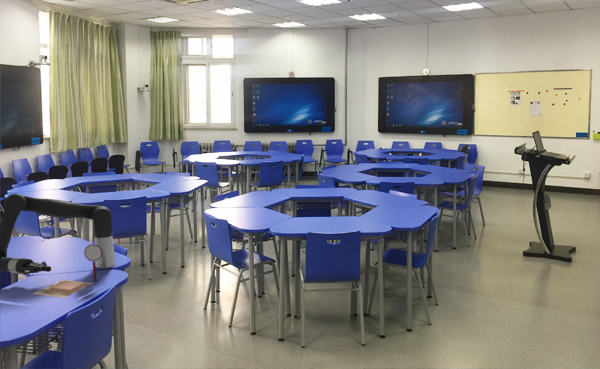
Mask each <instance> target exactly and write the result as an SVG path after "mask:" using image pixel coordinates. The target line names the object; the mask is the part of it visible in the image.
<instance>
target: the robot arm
mask: <svg viewBox="0 0 600 369" xmlns="http://www.w3.org/2000/svg"><path fill="white" fill-rule="evenodd" d="M21 212H32V213H38V214H41V215H43V216H49V217H52V218H59V219H60V218H61V219H89V220H93V230H94V231H93V234H94V244H95V245H98V246H99V247H100V248H101V249H102V257H101V258H100V259H99V260H97V261H95V265H96V269H110V268H113V267H114V266H115V264H116V255H115V254H116V253H115V247H114V239H113V216H112V212H111V209H109V207H107V206H104V205H94V204H93V205H91V204H90V205H89V204H82V203H78V202H72V201H68V200H61V199H53V198H39V197H37V198H36V197H32V196H27V195H23V194H21V193H17V192H15V193H10V194H9V195H8V196H7V197H5V199H4V209H3V214H2V218H1V221H0V271H2V272H7V273H13V274H18V275H19V274H21V275H29V274H36V273H37V274H39V273H41V272H46V273H47V272H49V273H50V272H51V271H52V267H51V266H49V265H48V264H47V262H46V261H44V260H43V261H41V262H36V261H33V260H32V258H23V257H9V256H8V248H9V246H10V242H11V239H12V235H13V233H14V228H15V225H16V222H17V220H18V218H19V215H20V214H21Z"/></svg>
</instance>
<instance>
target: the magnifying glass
mask: <svg viewBox="0 0 600 369" xmlns="http://www.w3.org/2000/svg"><path fill="white" fill-rule="evenodd" d="M83 252H84V257H85V258H86V260H88V261H91V262H92V268H93V270H92V271H93V282H97V281H98V280H97V266H96V261H97V260H99V259H100V258H101V257H102V249H101V248H100V247H99V246H98V245H95V243H93V244H89V245H87V246H86V247H85V249H84V251H83Z"/></svg>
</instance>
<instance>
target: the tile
mask: <svg viewBox="0 0 600 369" xmlns="http://www.w3.org/2000/svg"><path fill="white" fill-rule="evenodd" d="M63 280H64V281H61V280H60V281H61V282H59V281H58V282H59V283H57V282H56V283H57V284H55V283H54V284H55V285H53V284H52V285H53V286H51V287H49V291H52V292H60V293H68V294H71V293H73V292H75V291H77V290H79V289H81V288H83V287H85V283H84V282H85V281H78V282H75V281H76V280H70V281H67V279H63ZM85 288H86V287H85ZM83 289H84V288H83ZM81 290H82V289H81ZM79 291H80V290H79ZM77 292H78V291H77ZM75 293H76V292H75ZM73 294H74V293H73ZM71 295H72V294H71Z"/></svg>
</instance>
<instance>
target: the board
mask: <svg viewBox="0 0 600 369" xmlns="http://www.w3.org/2000/svg"><path fill="white" fill-rule="evenodd" d="M64 280H65V279H62V280H60V281H57V282H55V283H53V284H51V285H49V286H47V287H45V288H43V289H39V290H38V291H36V292H34V293H32V295H38V296H46V297H47V296H48V297H53V298H61V299H65V298H67V297H69V296H71V295H73V294H75V293H77V292H79V291H80V290H83V289H85V288H87V287H89V286H90V285H92V284H94V282H86V281H83V282H84V283H85V287H83V288H81V289H79V290H77V291H75V292H73V293H71V294H68V293H60V292H52V291H49V287H51V286H53V285H55V284H57V283H59V282H61V281H64ZM66 280H67V279H66ZM67 281H71V280H67ZM74 281H75V282H79V281H77V280H74Z"/></svg>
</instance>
